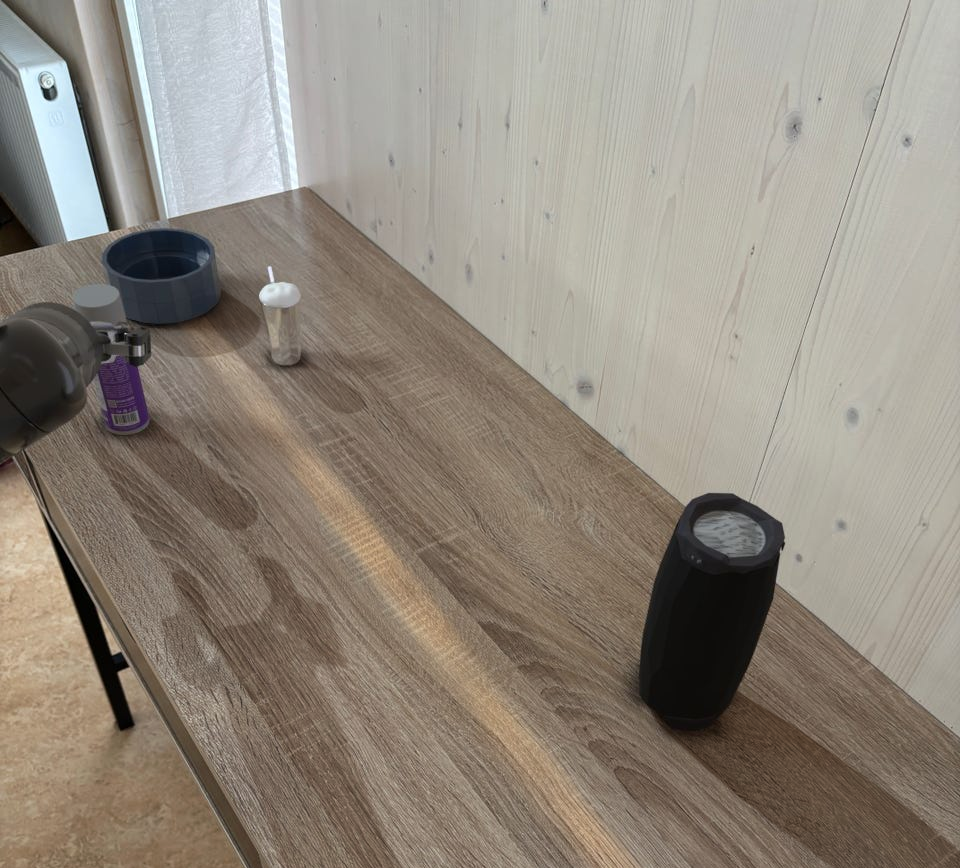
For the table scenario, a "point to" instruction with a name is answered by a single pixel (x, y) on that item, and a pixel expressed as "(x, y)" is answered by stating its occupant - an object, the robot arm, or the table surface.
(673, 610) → the portable speaker
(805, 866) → the table surface
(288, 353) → the milkshake
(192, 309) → the bowl
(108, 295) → the container
